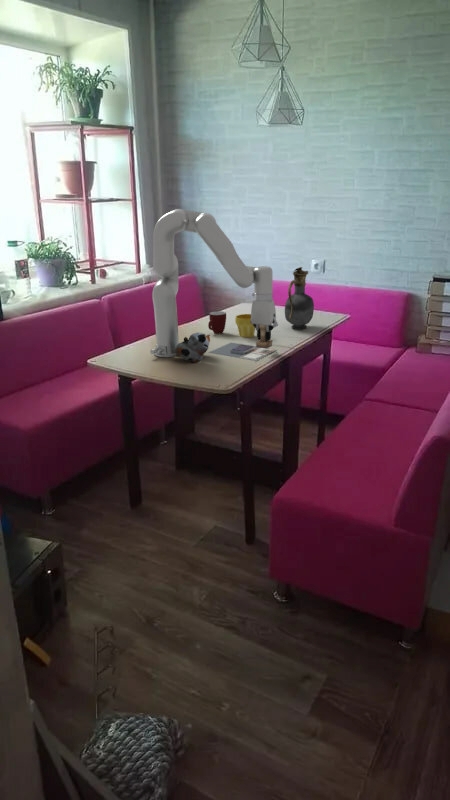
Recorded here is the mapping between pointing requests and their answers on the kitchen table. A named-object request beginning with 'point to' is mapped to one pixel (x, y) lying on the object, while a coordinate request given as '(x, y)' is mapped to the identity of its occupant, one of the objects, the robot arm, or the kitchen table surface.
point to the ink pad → (242, 349)
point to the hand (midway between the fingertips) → (264, 339)
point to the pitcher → (299, 302)
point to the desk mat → (226, 350)
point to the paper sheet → (257, 353)
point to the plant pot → (245, 325)
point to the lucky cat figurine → (193, 347)
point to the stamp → (263, 338)
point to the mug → (217, 321)
